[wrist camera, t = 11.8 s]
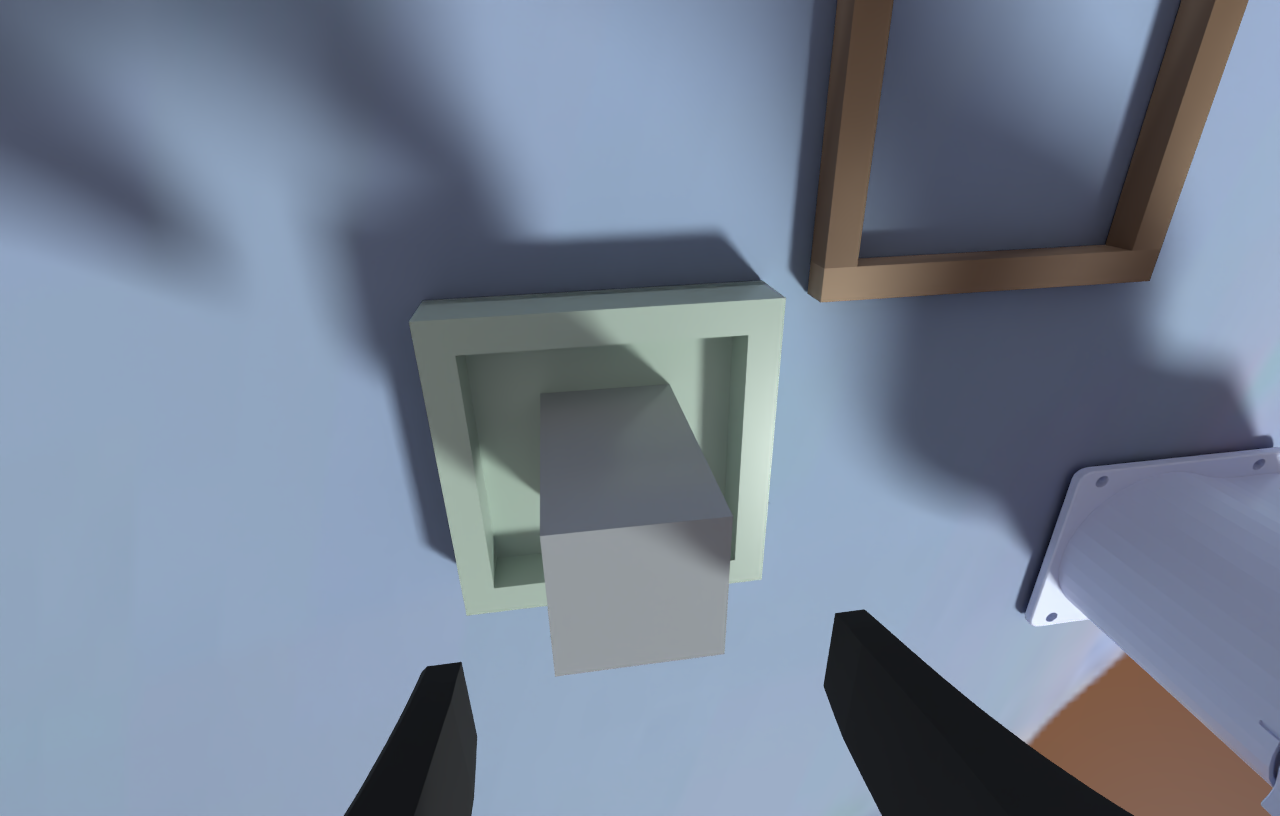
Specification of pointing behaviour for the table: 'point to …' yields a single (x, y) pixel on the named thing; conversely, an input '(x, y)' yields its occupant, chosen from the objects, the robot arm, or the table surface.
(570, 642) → the stone block
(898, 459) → the table surface
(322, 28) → the table surface
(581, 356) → the sage tray
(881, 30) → the walnut frame
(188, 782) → the table surface
